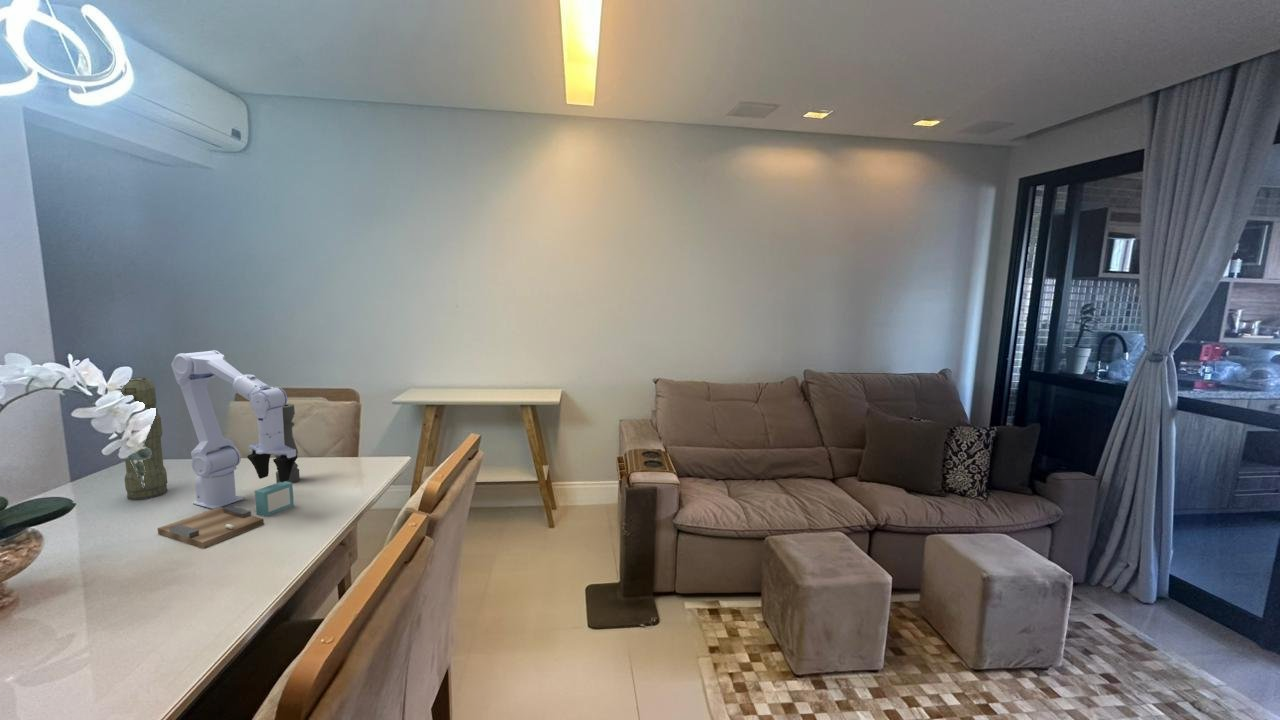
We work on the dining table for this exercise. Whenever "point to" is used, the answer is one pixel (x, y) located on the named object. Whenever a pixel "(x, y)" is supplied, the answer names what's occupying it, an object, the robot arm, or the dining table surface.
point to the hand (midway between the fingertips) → (274, 479)
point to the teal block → (274, 498)
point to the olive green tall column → (153, 466)
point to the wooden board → (211, 526)
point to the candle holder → (289, 440)
